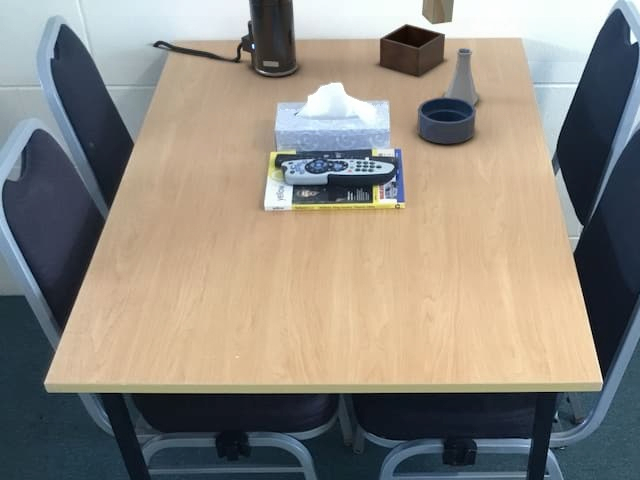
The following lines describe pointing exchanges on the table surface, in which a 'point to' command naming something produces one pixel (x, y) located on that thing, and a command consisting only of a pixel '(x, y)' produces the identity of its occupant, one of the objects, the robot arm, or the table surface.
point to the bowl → (446, 120)
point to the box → (438, 11)
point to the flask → (462, 79)
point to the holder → (412, 49)
